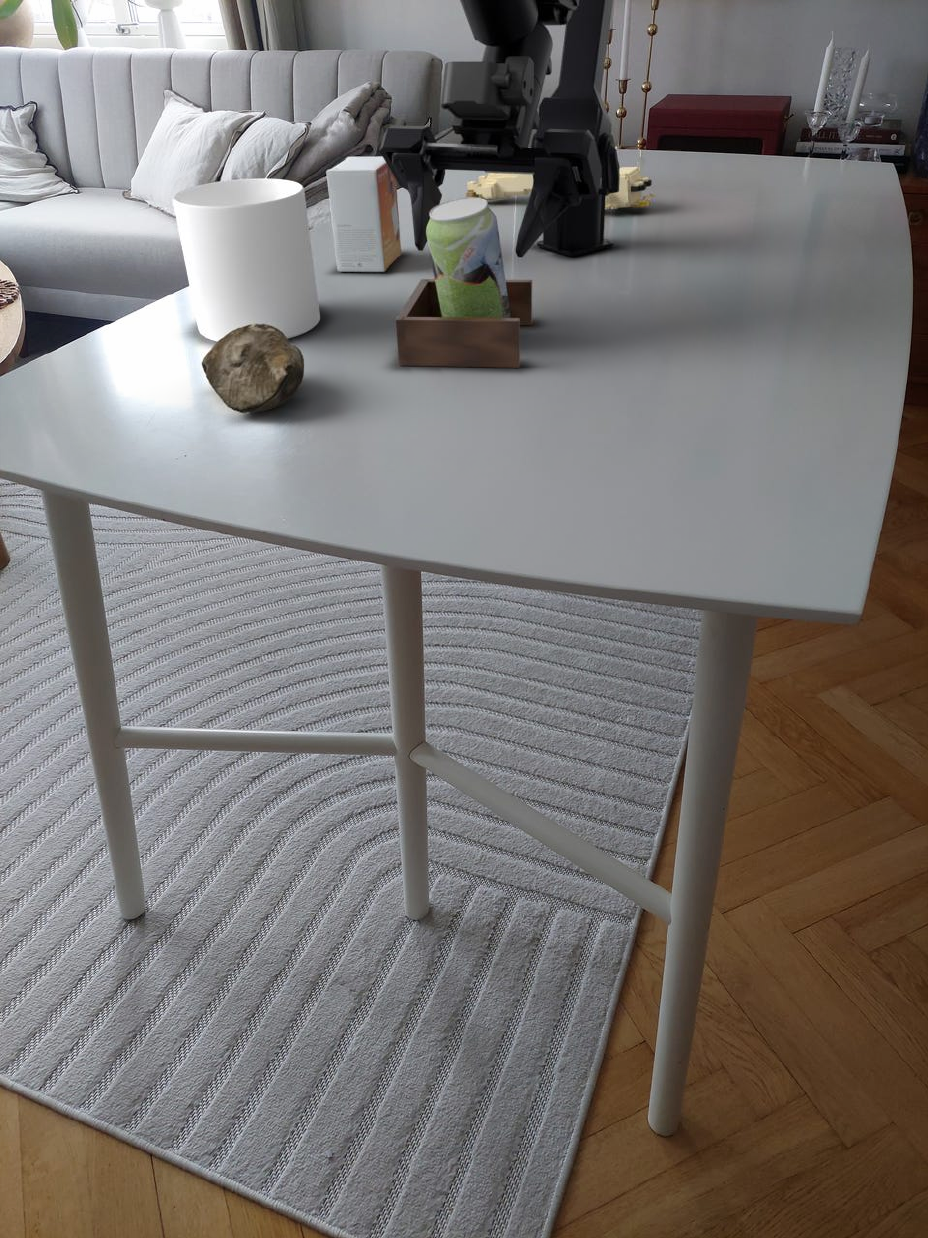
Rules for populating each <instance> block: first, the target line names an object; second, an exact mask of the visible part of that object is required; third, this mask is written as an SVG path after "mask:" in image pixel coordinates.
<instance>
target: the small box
mask: <svg viewBox="0 0 928 1238" xmlns="http://www.w3.org/2000/svg"><path fill="white" fill-rule="evenodd" d="M325 174H326V181H327V190H328V198H329V199H328V200H329V208H330V210H329V211H330V218H331V226H332V227H331V228H332V235H333V236H332V237H333V244H334V252H335V253H334V254H335V261H336V268H337V272H339V273H341V272H344V273H345V272H346V273H350V272H353V273H360V272H361V273H385V272H386V271H387V269H388V268H389V267H390V265H392V264H393V263H394V261H396V260H397V259H398V258H399V257H401V256H402V244H401V243H402V242H401V231H400V230H401V228H400V216H399V215H400V214H399V201H398V186H397V184H398V183H397V180H396V179H395V177H394V175H393V174H392V172H391V170H390V168H389V167H388V165H387V163H386V162H385V160H384V158H383V156H347V157H346V158H345V159H344V160H343V161H341V162H340V163H338V164H336V165H335V166H333V167H332V168H330V169H327V170H326V171H325Z"/></svg>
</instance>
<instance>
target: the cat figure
mask: <svg viewBox="0 0 928 1238" xmlns="http://www.w3.org/2000/svg"><path fill="white" fill-rule="evenodd" d="M619 172H620V182H619V192H617V193H610V194H609V195H608V196H606V201H605V210H618V209H619V208H629V207H632V208H644V207H648V206H649V205H650V200H651V199H652V197H655V196H656V193H654V192H653V193H649V195H644V196H642V194H643V191H645V190H647V188H648V187H652V183H653V182H652V179H650V177H649V176H643V175H642V170H641V169H639V167H638V166H625V167H624V166H623V167H620V169H619ZM601 180H602V179H601ZM466 187H467V192H466V193H465V196H466V197H465V198H468V197H475V198H482V199H484V200H496V199H498V200H499V199H507V198H509V197H511V196H512V197H513V196H515V197H516V196H517V197H519V196H528V195H530V194H531V191H532V187H533V175H528V174H502V173H487V175H480V176H478V182H477V180H471V181H468V182H466Z"/></svg>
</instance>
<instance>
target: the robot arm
mask: <svg viewBox="0 0 928 1238" xmlns="http://www.w3.org/2000/svg"><path fill="white" fill-rule="evenodd" d="M459 1H460V4H461V7H462V10H463V12H464V15H465V18H466V20H467V23H468V26H469V28H470V32H471V33H472V36H473V39H474V40H475V41H477V42H479V44H480V43H481V44H482V45H484V46H485V47H484V51H483V55H482V58H481V61H480V60H479V61H477V60H476V61H448V62H446V63H445V65H444V73H443V83H442V92H441V101H440V107H441V108H442V109H443V110H447V111H448V112H449V113H451V114H452V115H453V118H452V122H451V128H452V130H453V132H454V134H455V135H460V136H461V141H460V143H444V142H442V143H441V142H437V140H436V138H435V136H434V134H433V132H432V130H431V127H430V126H429V125H427V126H426V125H391V126H389V127H387V128H386V130H385V131H384V134H383V136H382V139H381V144H380V147H379V153H380V156H381V157H383V158H384V160H385V162H386V163H387V165H388V167H389V168H390V170H391V172H392V174H393V175H394V177H395V179H396V183H397V184H398V186H399V187H401V188H402V189H404V190H406V191H407V192H408V194H409V199H410V206H411V215H412V216H411V217H412V227H413V240H414V246H415V247H416V249H417V250H418V251H419V252H423V251H424V250H425V247H426V245H427V244H428V240H427V235H426V228H427V225H428V222H429V220H430V211H431V210H432V209H433V208H434V207H436V206H437V205H439V204H441V200H442V198H443V194H442V192H441V190H440V188H439V187H440V186H442V185H443V183H444V181H445V176H446V171H466V172H467V171H468V172H469V171H471V172H484V173H487V174H488V173H502V174H528V175H533V187H532V191H531V193H529V197H528V201H527V204H526V207H525V210H524V214H523V217H522V221H521V224H520V227H519V230H518V234H517V239H516V244H515V254H516V256H517V258H523V257H524V256H525V255H526V254H527V253H528V252H529V250H530V249H531V248H532V247H533V246H534V244H536V247H538V248H542V249H545V250H548V251H551V252H554V253H558V254H561V255H563V256H564V255H565V256H568V257H576V256H580V255H585V254H589V253H592V252H593V253H594V252H597V251H599V250H604V249H609V248H612V247H613V246H614V242H613V241H611V240H608V239H605V222H606V209H605V201H606V196H608V195H609V194H610V193H617V192H619V182H620V172H619V169H620V168H621V166H620V162H619V158H618V152H617V148H616V145H615V140H614V136H613V134H612V126H613V125H612V121H611V118H610V116H609V113H608V111H607V108H606V106H605V103H604V100H603V99H602V88H603V81H604V74H605V67H606V58H607V51H608V44H609V43H608V42H609V35H610V28H611V27H610V26H611V19H612V12H613V6H614V5H613V4H614V0H459ZM547 26H549V27H550V26H565V29H564V35H563V36H564V37H563V46H562V52H561V54H562V55H561V60H560V61H561V62H560V70H559V78H558V84H557V87H556V88H555V89H554V91H553V93H552V94H551V95H550V97H549V96H545V97H543V98H542V100H541V96H542V92H543V87H544V83H545V79H546V76H551V74H552V73H553V61H552V58H551V56H552V51H553V45H554V42H553V38H552V35H551V33H550V30H549V29H548V27H547ZM540 100H541V102H540ZM533 130H536V131H535V132H534V133H533V136H532V132H533ZM531 136H532V139H531ZM530 141H531V143H530ZM529 144H530V147H529ZM601 179H602V180H601ZM540 237H542V239H541V240H539V238H540Z"/></svg>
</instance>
